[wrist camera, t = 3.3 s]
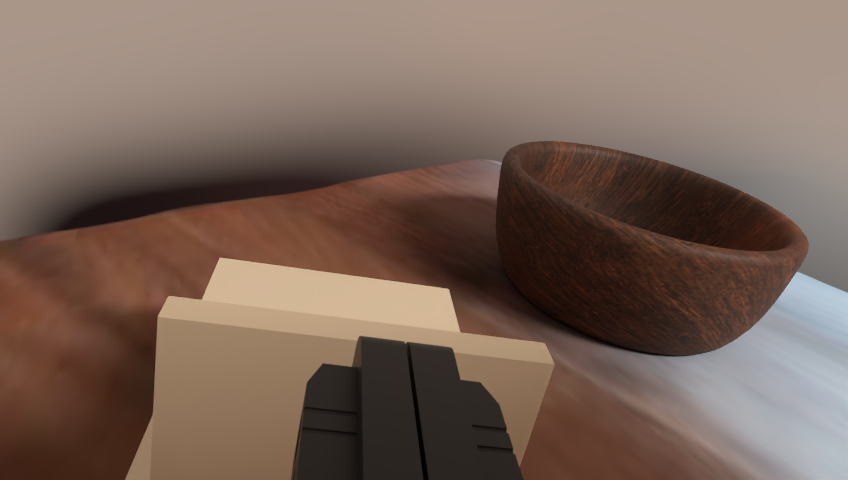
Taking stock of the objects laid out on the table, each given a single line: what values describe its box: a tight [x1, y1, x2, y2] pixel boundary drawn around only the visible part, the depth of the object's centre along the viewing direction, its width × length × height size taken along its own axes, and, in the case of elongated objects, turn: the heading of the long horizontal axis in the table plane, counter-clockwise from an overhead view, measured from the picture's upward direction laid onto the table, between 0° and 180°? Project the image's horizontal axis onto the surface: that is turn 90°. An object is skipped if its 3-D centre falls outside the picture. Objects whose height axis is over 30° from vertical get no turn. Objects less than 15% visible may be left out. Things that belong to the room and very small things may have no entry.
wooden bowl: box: [496, 141, 808, 355], centre depth 57 cm, size 25×25×10 cm
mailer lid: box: [125, 258, 555, 480], centre depth 27 cm, size 19×13×9 cm
